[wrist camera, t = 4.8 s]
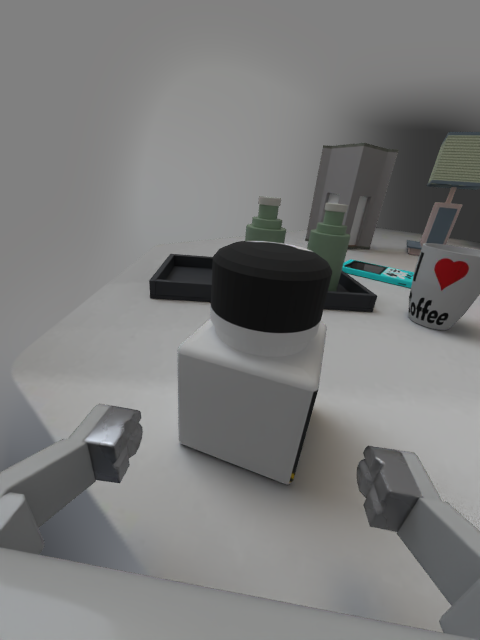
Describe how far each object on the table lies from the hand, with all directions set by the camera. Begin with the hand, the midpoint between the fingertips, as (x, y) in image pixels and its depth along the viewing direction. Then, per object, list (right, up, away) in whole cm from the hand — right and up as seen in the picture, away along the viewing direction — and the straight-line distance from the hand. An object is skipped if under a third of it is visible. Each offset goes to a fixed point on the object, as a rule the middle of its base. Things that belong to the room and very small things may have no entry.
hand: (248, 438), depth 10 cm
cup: (+26, +4, +28) cm, 39 cm away
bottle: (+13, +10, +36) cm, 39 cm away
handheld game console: (+30, +14, +49) cm, 59 cm away
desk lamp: (+63, +26, +82) cm, 107 cm away
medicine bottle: (0, -3, +9) cm, 10 cm away
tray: (+3, +10, +35) cm, 37 cm away
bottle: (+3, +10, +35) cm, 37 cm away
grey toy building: (+31, +28, +79) cm, 90 cm away
